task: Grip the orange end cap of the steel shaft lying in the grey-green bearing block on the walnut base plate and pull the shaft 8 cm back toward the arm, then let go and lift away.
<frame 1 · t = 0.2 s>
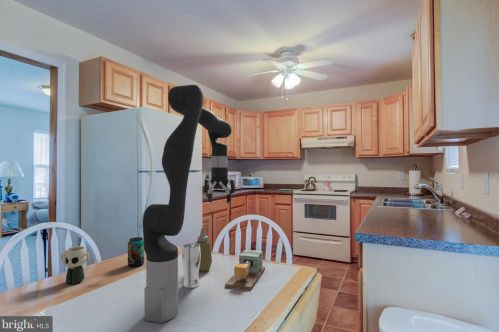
hand: (219, 202, 129), 29 cm above the table, tool pointing down, fingers open, 8 cm apart
squeeze bottle: (202, 270, 124), on the table
shaft: (248, 263, 117), point 5 cm above the table, slide at 0.0 cm
beverage can: (136, 265, 130), on the table
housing: (247, 276, 116), on the table
character mug: (75, 282, 111), on the table
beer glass: (191, 285, 108), on the table
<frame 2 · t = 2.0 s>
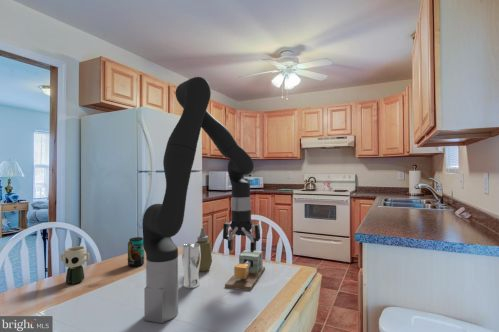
hand: (241, 250, 109), 13 cm above the table, tool pointing down, fingers open, 8 cm apart
nothing on the table moved.
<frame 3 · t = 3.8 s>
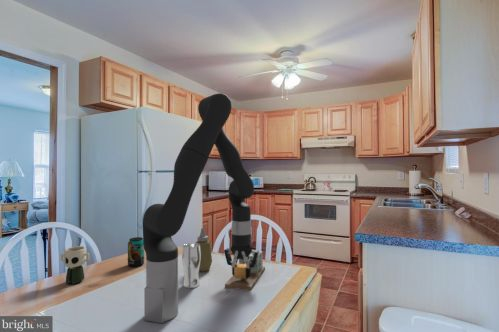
hand: (241, 276, 108), 3 cm above the table, tool pointing down, fingers closed on shaft, 4 cm apart
shaft: (248, 263, 117), point 5 cm above the table, slide at 0.0 cm, touching gripper
everything else where it was.
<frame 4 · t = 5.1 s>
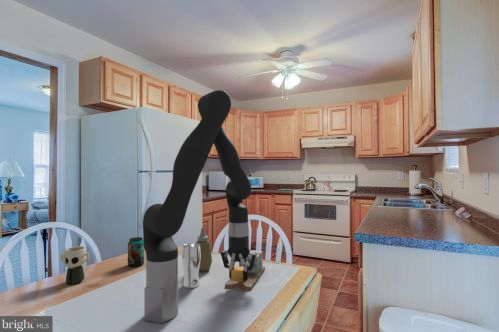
hand: (238, 279, 105), 3 cm above the table, tool pointing down, fingers closed on shaft, 4 cm apart
shaft: (246, 265, 114), point 5 cm above the table, slide at 3.2 cm, touching gripper
everything else where it was.
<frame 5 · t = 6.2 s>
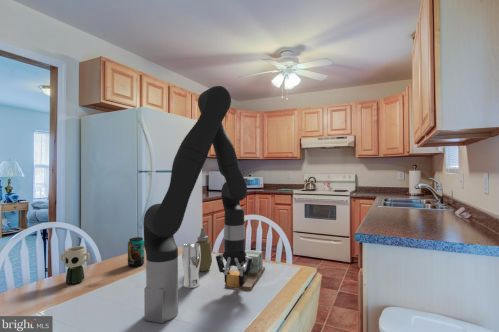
hand: (234, 284, 101), 3 cm above the table, tool pointing down, fingers closed on shaft, 4 cm apart
shaft: (242, 269, 110), point 5 cm above the table, slide at 7.9 cm, touching gripper
everything else where it was.
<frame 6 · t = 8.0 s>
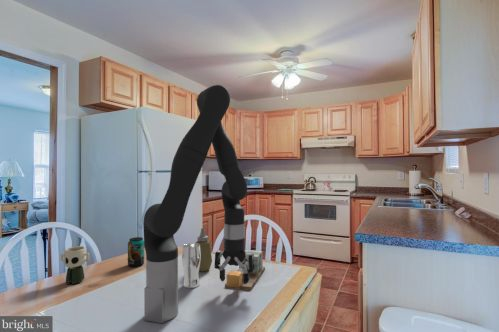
hand: (234, 282, 101), 4 cm above the table, tool pointing down, fingers open, 8 cm apart
shaft: (242, 269, 110), point 5 cm above the table, slide at 7.9 cm
everything else where it was.
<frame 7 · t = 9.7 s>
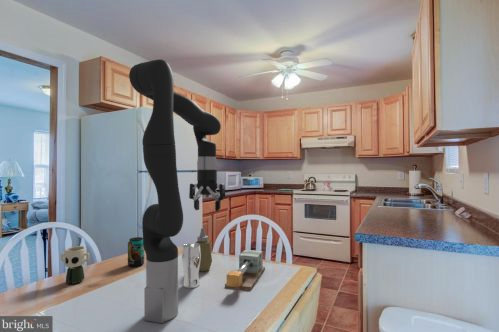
hand: (207, 210, 110), 28 cm above the table, tool pointing down, fingers open, 8 cm apart
nothing on the table moved.
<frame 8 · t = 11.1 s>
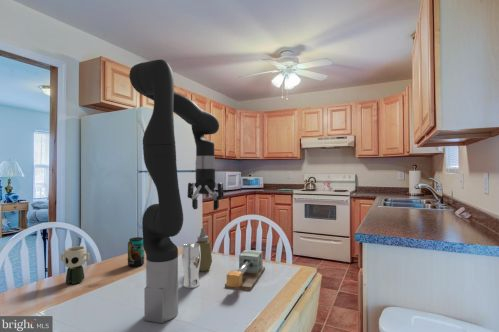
hand: (205, 209, 111), 28 cm above the table, tool pointing down, fingers open, 8 cm apart
nothing on the table moved.
at the end: shaft slide at 7.9 cm; the gripper is holding nothing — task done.
